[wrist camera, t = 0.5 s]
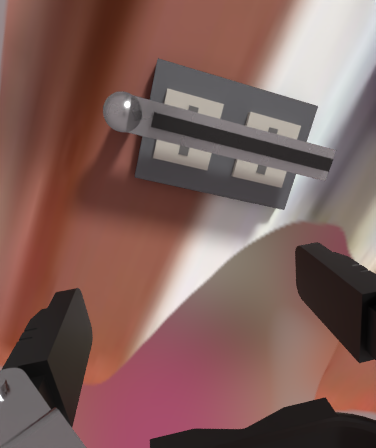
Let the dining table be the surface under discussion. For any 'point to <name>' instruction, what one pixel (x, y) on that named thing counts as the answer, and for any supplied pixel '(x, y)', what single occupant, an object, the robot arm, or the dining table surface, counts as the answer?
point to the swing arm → (215, 135)
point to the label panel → (230, 111)
